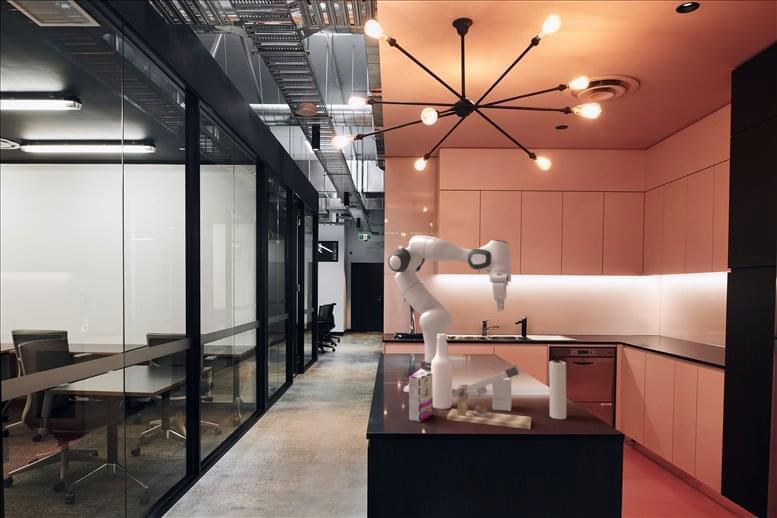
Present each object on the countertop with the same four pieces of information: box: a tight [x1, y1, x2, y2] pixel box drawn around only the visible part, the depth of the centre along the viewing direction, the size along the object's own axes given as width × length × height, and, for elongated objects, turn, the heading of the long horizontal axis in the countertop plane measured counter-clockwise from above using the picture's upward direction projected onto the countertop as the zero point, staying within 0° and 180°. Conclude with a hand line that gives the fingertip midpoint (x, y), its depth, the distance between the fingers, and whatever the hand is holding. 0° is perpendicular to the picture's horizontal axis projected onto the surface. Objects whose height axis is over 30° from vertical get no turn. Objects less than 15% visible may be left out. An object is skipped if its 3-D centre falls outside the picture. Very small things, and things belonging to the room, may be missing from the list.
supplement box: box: [491, 377, 513, 412], centre depth 187 cm, size 7×7×13 cm
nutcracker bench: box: [446, 383, 532, 430], centre depth 170 cm, size 30×10×12 cm, turn 70°
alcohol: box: [431, 333, 453, 410], centre depth 189 cm, size 9×9×30 cm
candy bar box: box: [408, 372, 434, 423], centre depth 173 cm, size 11×5×16 cm, turn 148°
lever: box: [466, 365, 520, 397], centre depth 171 cm, size 24×4×5 cm, turn 72°
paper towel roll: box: [548, 360, 567, 420], centre depth 175 cm, size 7×6×21 cm
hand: (500, 310), depth 190 cm, fingers open, 8 cm apart
